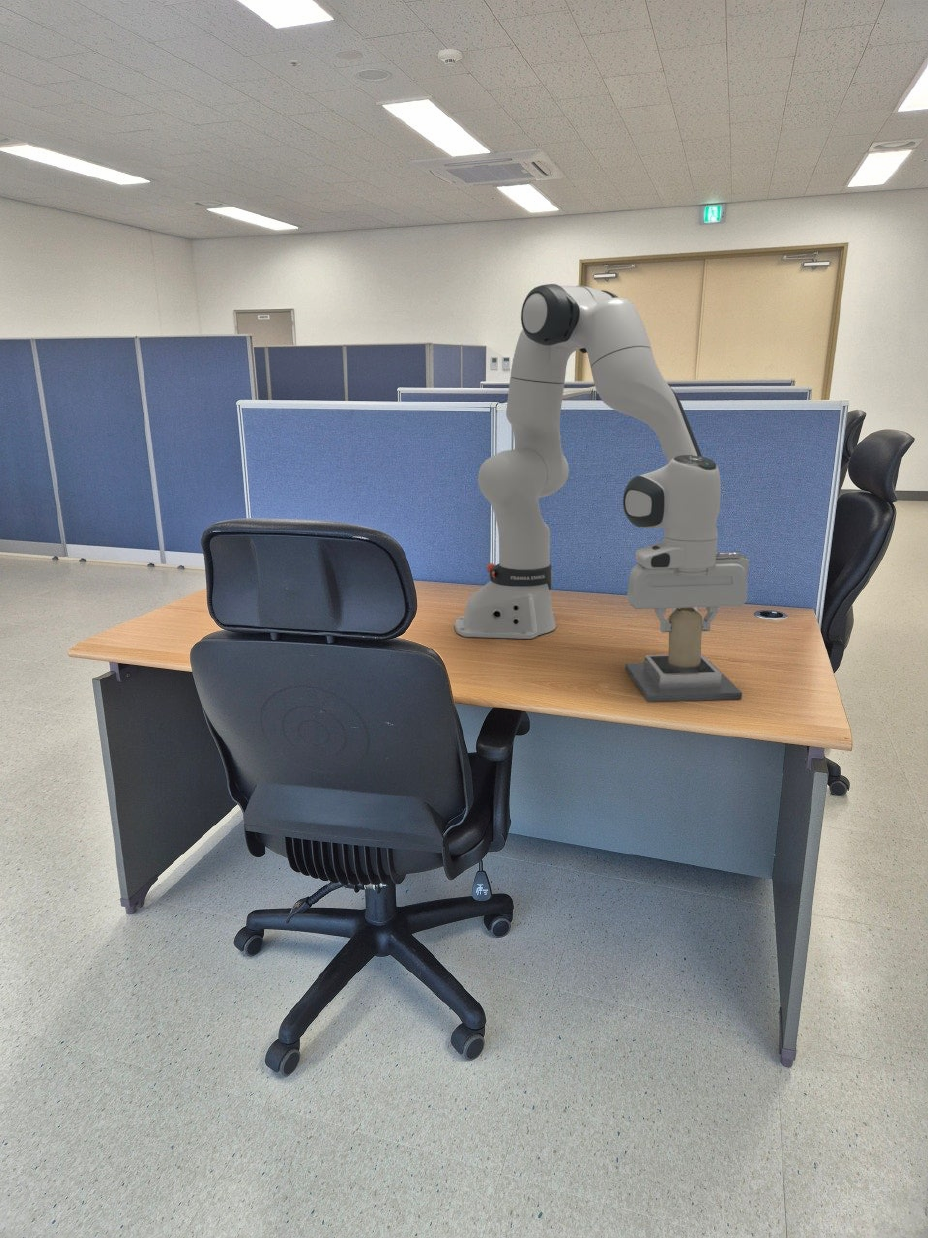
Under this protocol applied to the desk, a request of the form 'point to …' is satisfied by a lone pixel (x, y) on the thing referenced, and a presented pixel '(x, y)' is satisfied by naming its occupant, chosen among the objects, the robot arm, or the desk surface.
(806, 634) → the desk surface
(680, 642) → the candle
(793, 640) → the desk surface
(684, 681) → the candle stand
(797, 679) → the desk surface
